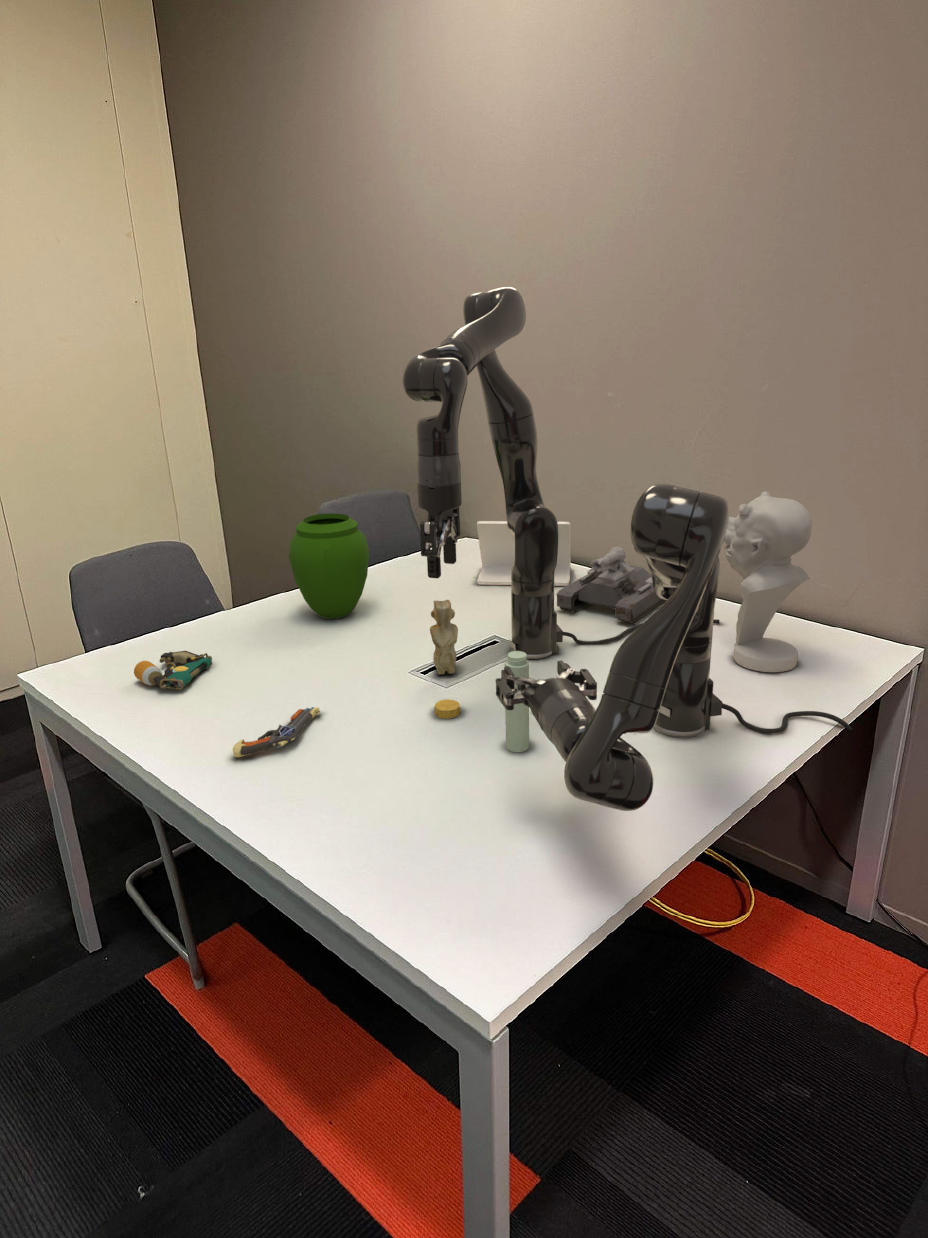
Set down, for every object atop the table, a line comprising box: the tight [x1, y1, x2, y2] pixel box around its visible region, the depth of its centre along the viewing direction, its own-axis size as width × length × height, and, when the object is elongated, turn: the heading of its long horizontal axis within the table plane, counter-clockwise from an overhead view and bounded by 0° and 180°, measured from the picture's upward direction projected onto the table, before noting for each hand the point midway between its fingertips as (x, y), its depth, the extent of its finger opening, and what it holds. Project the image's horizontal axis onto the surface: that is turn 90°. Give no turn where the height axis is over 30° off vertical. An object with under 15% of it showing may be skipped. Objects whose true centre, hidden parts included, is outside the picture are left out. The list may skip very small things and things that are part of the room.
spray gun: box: [133, 650, 213, 690], centre depth 180 cm, size 4×17×15 cm
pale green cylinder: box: [504, 651, 530, 753], centre depth 145 cm, size 4×4×18 cm
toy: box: [556, 546, 667, 624], centre depth 212 cm, size 25×20×15 cm
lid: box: [434, 699, 461, 720], centre depth 161 cm, size 5×5×2 cm
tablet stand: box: [476, 520, 572, 587], centre depth 236 cm, size 18×25×17 cm
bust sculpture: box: [723, 491, 813, 673], centre depth 177 cm, size 16×24×35 cm, turn 28°
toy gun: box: [232, 706, 321, 758], centre depth 154 cm, size 3×19×10 cm
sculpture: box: [429, 599, 459, 675], centre depth 177 cm, size 6×7×15 cm
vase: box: [288, 512, 370, 620], centre depth 209 cm, size 20×20×24 cm
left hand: (442, 570), depth 151 cm, fingers open, 8 cm apart
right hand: (532, 669), depth 132 cm, fingers open, 8 cm apart
